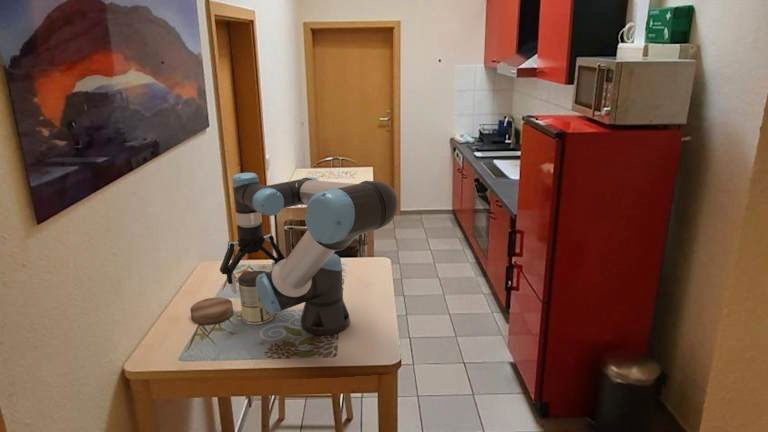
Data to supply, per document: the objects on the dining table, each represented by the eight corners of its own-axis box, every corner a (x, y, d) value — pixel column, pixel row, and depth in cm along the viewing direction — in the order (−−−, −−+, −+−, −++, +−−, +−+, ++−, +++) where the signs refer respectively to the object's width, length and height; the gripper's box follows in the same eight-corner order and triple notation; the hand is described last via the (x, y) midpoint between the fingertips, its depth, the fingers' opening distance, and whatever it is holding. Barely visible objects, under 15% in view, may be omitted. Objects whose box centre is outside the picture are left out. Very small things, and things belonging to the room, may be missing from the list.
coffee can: (248, 309, 176) (244, 269, 172) (278, 310, 175) (275, 270, 171) (237, 324, 166) (232, 283, 162) (269, 325, 165) (265, 284, 161)
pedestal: (238, 317, 171) (237, 308, 170) (197, 328, 164) (195, 319, 163) (226, 302, 181) (225, 294, 180) (187, 312, 175) (186, 303, 174)
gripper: (283, 213, 171) (287, 274, 177) (204, 227, 158) (212, 292, 165) (292, 219, 165) (296, 282, 171) (211, 234, 152) (219, 301, 158)
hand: (255, 287), depth 168 cm, fingers open, 13 cm apart
